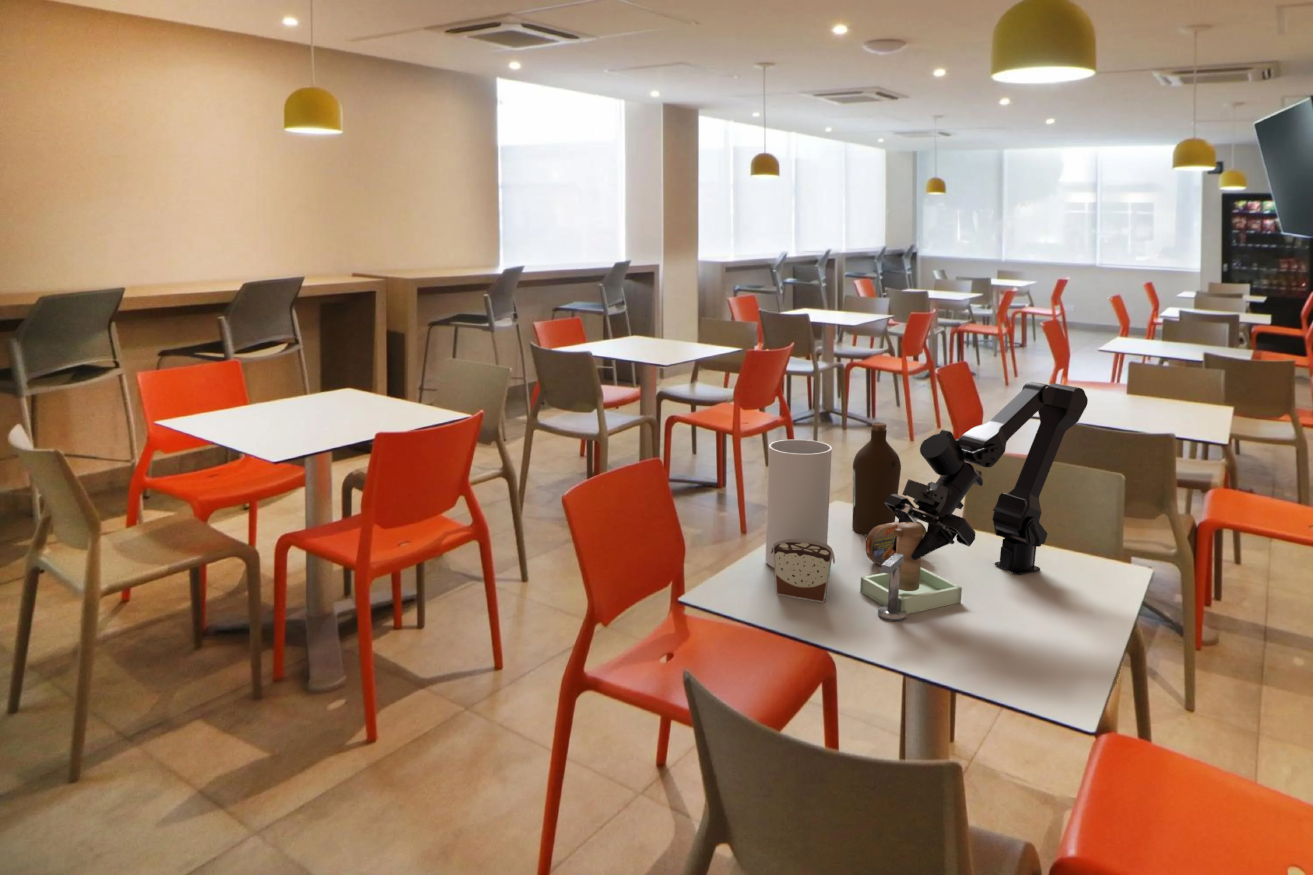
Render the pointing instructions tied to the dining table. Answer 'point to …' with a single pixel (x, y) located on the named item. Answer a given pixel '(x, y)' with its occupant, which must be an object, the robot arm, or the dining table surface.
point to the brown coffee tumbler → (909, 554)
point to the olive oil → (874, 481)
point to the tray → (914, 592)
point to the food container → (802, 568)
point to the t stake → (892, 589)
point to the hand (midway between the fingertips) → (903, 554)
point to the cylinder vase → (797, 492)
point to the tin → (882, 542)
